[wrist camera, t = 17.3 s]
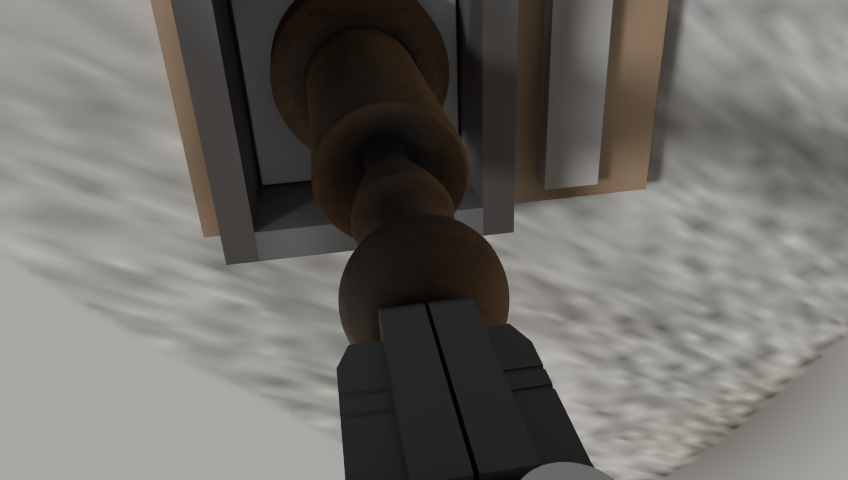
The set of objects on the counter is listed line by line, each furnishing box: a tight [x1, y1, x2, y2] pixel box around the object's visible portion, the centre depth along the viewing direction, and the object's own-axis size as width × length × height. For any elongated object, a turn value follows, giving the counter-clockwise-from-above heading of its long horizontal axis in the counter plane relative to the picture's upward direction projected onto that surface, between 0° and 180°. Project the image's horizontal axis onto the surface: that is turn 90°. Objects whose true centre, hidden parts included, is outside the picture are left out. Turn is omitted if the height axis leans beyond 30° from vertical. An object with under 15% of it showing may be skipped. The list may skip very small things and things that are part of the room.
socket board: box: [151, 0, 669, 265], centre depth 26 cm, size 20×14×6 cm
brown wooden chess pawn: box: [270, 0, 509, 345], centre depth 19 cm, size 7×6×18 cm
